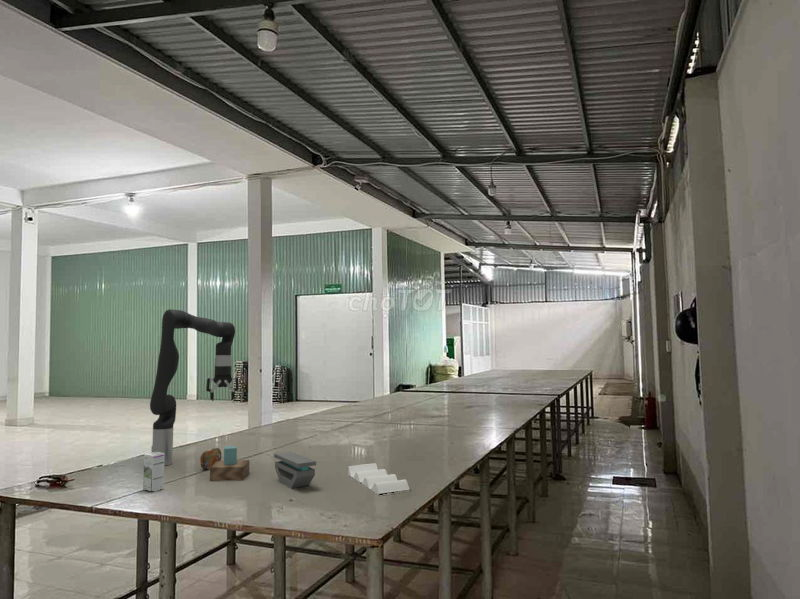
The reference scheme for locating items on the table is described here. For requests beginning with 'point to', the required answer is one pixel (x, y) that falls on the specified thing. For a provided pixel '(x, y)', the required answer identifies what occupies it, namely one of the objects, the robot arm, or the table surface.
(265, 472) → the table surface
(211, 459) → the tin
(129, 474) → the table surface
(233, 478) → the walnut block
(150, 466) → the syrup box
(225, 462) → the teal block
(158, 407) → the robot arm
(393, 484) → the white corrugated sheet
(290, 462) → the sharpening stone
